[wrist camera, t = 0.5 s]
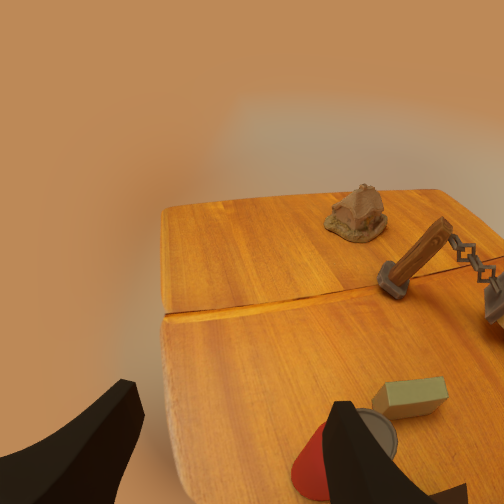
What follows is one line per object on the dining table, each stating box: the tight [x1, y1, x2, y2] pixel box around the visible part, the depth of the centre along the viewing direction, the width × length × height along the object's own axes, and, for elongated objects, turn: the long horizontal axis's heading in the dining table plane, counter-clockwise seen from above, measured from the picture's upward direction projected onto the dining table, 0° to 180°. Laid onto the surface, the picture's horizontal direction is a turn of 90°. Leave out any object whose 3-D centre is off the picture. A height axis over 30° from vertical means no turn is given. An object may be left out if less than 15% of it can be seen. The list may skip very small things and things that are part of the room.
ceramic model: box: [324, 184, 387, 242], centre depth 58 cm, size 14×11×10 cm
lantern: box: [377, 216, 504, 329], centre depth 36 cm, size 8×17×30 cm
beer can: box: [291, 408, 398, 501], centre depth 19 cm, size 7×7×12 cm
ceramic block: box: [372, 376, 449, 420], centre depth 27 cm, size 3×8×4 cm, turn 85°
